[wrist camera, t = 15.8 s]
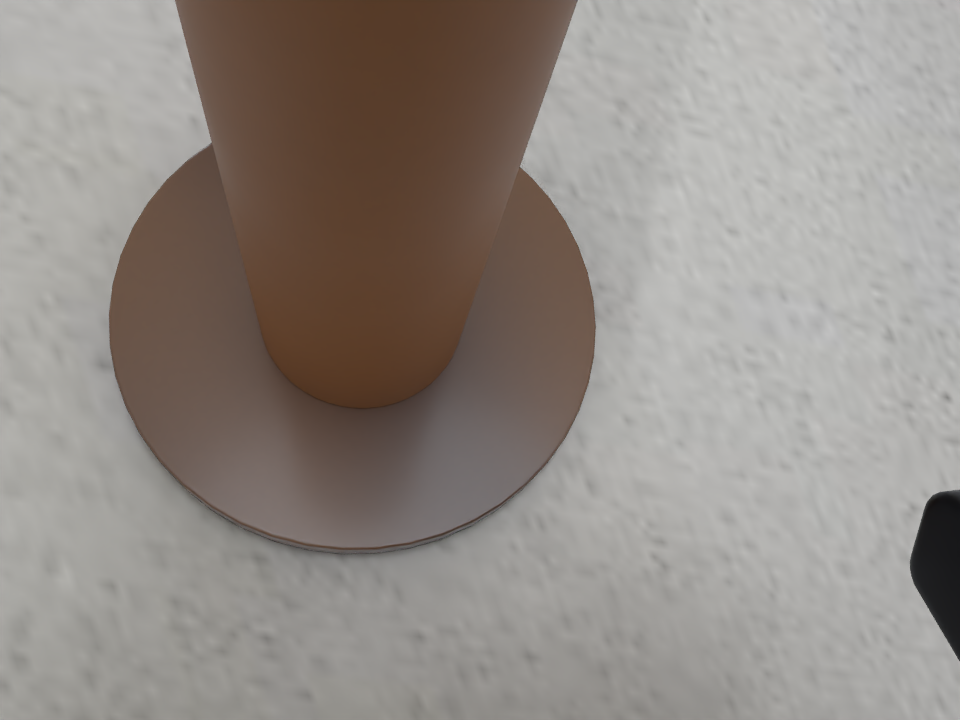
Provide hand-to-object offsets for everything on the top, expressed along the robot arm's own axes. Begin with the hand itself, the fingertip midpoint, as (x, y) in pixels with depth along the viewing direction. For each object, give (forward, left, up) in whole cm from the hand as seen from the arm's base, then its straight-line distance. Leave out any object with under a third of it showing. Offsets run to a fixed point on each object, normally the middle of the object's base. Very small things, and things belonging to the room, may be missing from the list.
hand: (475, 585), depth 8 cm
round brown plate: (+4, +6, -13) cm, 15 cm away
